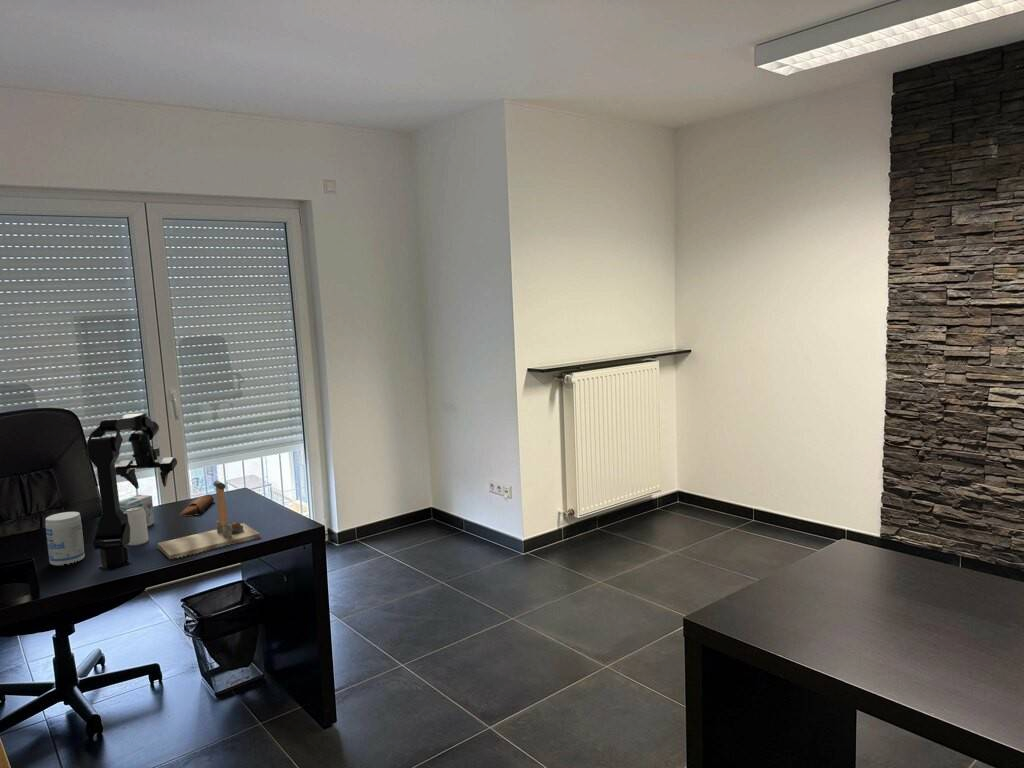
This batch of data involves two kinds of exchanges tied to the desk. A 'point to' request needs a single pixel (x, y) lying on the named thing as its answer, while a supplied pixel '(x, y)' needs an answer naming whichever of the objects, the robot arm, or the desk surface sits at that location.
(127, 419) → the robot arm
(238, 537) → the board
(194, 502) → the brown bread roll
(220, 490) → the lever
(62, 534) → the supplement tub
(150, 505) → the light bulb box
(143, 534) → the can
